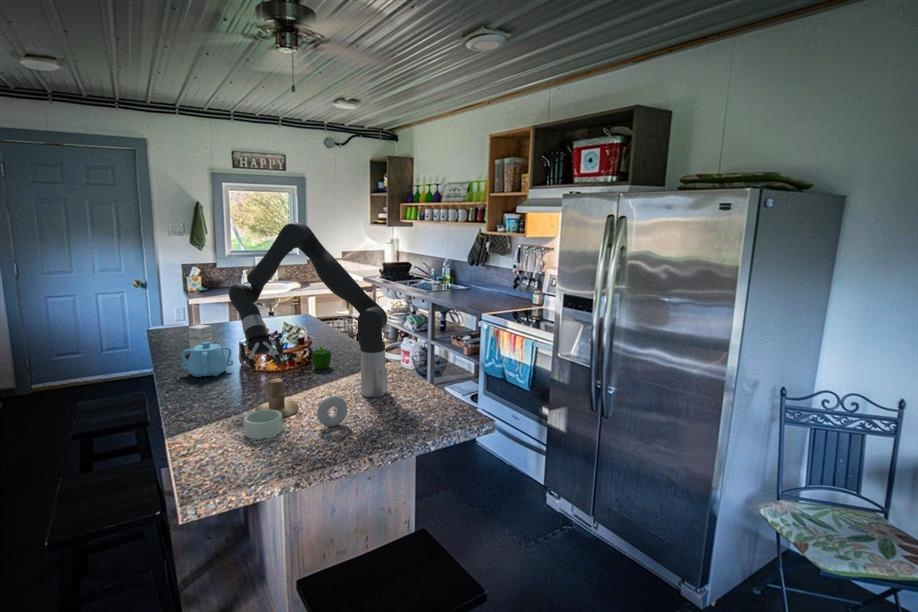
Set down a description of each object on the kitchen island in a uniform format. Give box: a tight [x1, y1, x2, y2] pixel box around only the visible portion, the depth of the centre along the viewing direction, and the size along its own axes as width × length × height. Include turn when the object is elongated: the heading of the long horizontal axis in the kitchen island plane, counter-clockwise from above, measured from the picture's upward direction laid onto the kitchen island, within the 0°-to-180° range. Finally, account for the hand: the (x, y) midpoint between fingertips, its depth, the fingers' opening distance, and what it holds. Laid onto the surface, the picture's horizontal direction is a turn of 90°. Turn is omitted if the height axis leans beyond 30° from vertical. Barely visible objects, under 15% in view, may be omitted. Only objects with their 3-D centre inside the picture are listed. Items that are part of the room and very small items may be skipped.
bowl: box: [243, 409, 283, 440], centre depth 158 cm, size 11×11×5 cm
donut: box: [316, 395, 349, 428], centre depth 162 cm, size 10×4×10 cm, turn 125°
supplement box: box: [188, 323, 214, 349], centre depth 242 cm, size 7×7×13 cm
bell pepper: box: [311, 344, 332, 370], centre depth 221 cm, size 8×8×10 cm
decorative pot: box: [181, 342, 234, 378], centre depth 210 cm, size 16×16×14 cm
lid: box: [254, 377, 299, 418], centre depth 173 cm, size 14×14×11 cm
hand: (266, 367), depth 179 cm, fingers open, 8 cm apart
